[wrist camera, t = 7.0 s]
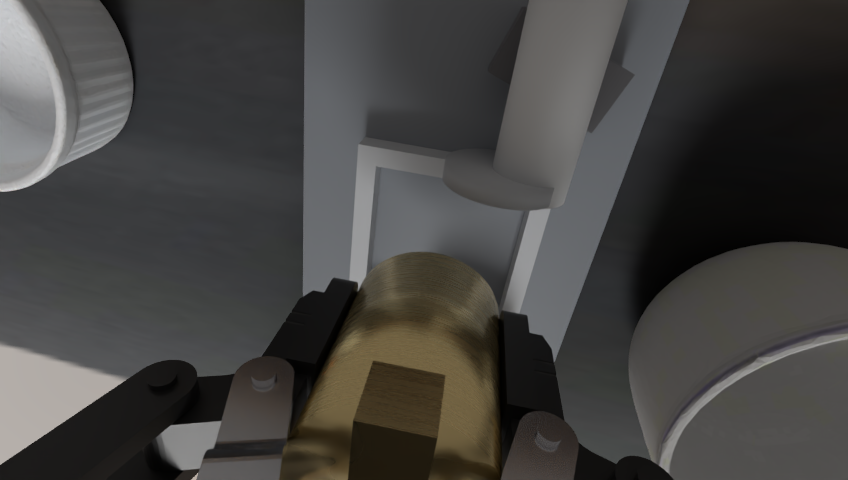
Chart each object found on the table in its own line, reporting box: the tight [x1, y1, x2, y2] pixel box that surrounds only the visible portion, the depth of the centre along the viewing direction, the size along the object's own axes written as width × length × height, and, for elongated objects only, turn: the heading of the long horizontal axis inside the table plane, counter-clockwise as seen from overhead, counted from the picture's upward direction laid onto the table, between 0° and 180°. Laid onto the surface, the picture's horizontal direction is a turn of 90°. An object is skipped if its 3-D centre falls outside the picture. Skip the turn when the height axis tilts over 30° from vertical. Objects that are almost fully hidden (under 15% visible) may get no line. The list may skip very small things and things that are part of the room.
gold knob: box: [286, 252, 503, 480], centre depth 11 cm, size 6×4×7 cm
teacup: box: [628, 242, 848, 480], centre depth 16 cm, size 14×11×8 cm
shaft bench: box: [303, 0, 689, 362], centre depth 17 cm, size 20×12×6 cm, turn 172°
